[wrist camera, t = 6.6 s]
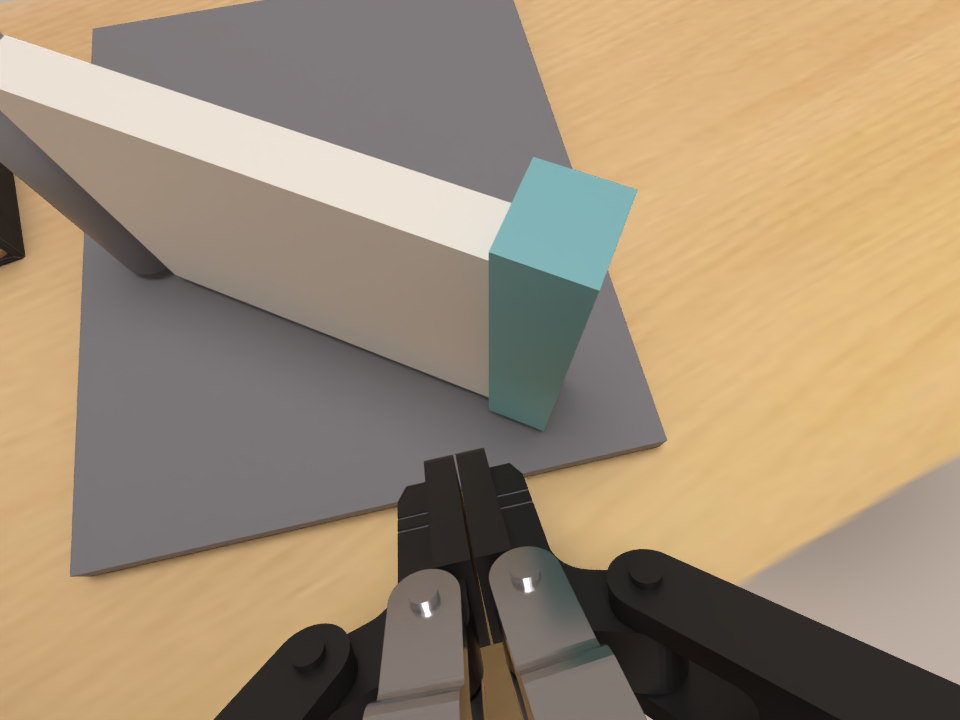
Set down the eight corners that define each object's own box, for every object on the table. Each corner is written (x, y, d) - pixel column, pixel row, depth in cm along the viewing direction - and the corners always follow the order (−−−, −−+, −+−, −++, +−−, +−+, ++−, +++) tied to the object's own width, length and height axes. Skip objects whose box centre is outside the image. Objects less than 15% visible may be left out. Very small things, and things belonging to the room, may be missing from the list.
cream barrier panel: (108, 262, 21) (-192, 19, 12) (145, 213, 22) (-111, -51, 13) (542, 433, 18) (597, 295, 9) (566, 371, 19) (638, 185, 10)
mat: (90, 576, 19) (69, 576, 18) (106, 47, 27) (92, 28, 26) (658, 446, 20) (667, 440, 19) (499, -19, 29) (499, -39, 28)
